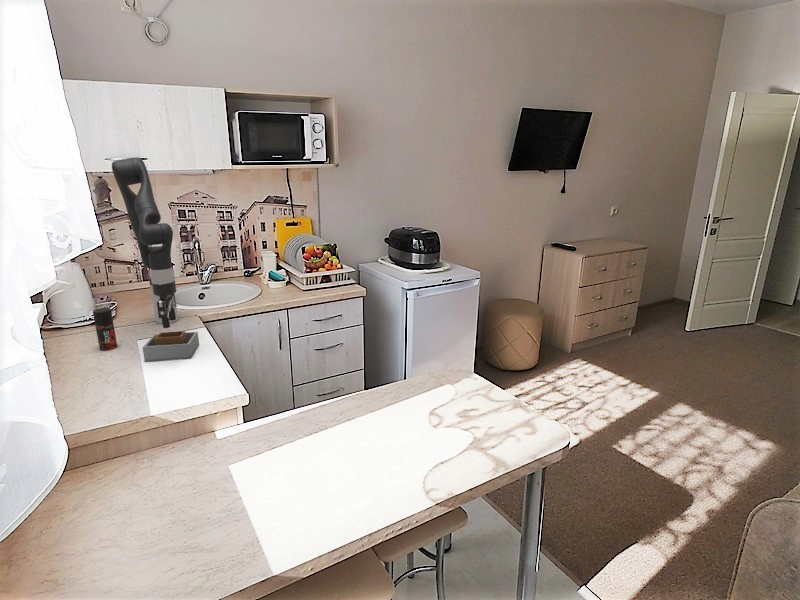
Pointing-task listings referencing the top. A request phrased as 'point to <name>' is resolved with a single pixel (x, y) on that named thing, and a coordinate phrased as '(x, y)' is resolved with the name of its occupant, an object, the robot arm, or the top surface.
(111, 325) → the deodorant
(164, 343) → the crate small
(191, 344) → the crate large
